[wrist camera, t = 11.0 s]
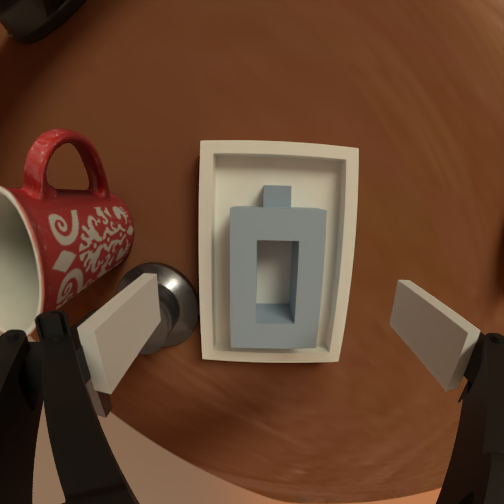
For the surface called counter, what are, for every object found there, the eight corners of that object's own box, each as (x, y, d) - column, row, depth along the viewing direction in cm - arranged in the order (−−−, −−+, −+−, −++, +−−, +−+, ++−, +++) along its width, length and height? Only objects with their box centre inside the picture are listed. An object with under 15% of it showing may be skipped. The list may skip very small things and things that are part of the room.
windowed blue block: (308, 325, 24) (315, 348, 20) (235, 324, 24) (230, 347, 21) (315, 188, 22) (327, 186, 18) (235, 185, 22) (230, 183, 18)
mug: (124, 295, 25) (35, 368, 12) (57, 250, 24) (-41, 287, 11) (178, 170, 23) (86, 148, 9) (100, 133, 22) (-6, 103, 9)
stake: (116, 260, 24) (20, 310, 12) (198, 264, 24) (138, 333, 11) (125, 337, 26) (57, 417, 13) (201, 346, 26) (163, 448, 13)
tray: (206, 145, 22) (200, 140, 20) (350, 152, 22) (358, 148, 20) (206, 346, 26) (202, 359, 24) (332, 349, 25) (338, 361, 23)
